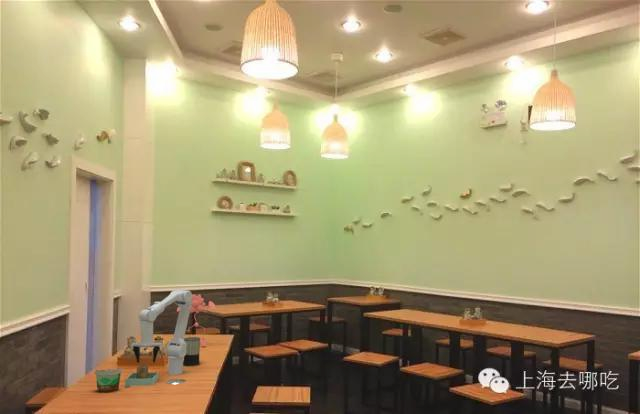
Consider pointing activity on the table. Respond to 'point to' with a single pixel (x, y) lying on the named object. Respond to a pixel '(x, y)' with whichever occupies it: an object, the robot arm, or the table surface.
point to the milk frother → (192, 351)
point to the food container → (108, 380)
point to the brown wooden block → (142, 372)
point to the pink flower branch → (198, 306)
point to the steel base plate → (175, 381)
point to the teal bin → (133, 381)
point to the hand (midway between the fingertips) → (146, 362)
